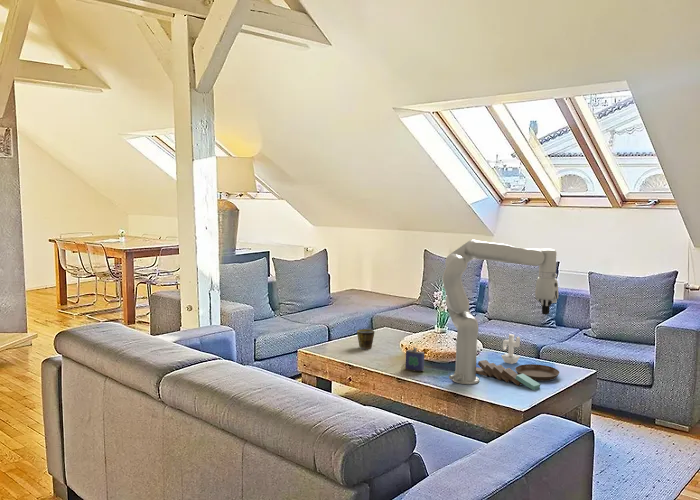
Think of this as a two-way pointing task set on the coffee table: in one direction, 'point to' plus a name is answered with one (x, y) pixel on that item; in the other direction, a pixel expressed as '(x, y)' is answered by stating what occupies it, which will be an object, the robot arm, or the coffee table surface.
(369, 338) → the ceramic cup
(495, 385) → the coffee table surface
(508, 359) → the figurine
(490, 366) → the domino
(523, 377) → the tile
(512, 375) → the domino
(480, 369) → the domino
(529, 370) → the plant saucer
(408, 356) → the flask
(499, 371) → the domino
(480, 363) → the domino
